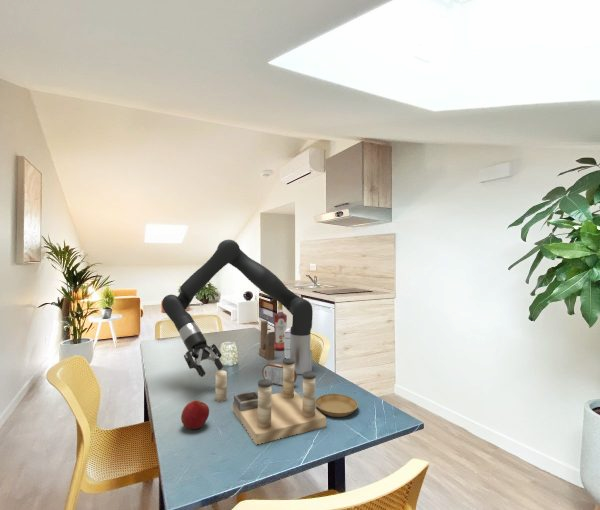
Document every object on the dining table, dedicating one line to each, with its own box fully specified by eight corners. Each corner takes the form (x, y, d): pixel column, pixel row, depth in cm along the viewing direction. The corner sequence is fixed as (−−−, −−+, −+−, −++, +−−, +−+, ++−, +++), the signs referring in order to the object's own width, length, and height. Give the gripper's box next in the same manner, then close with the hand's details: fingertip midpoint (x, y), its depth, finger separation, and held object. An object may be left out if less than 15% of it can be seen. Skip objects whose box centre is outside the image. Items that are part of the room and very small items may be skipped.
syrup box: (295, 359, 171) (295, 331, 171) (283, 358, 172) (284, 330, 172) (297, 356, 176) (297, 328, 176) (286, 355, 178) (286, 328, 178)
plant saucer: (362, 405, 120) (362, 398, 120) (351, 424, 107) (351, 416, 107) (323, 397, 127) (323, 390, 127) (308, 414, 113) (308, 407, 113)
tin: (297, 386, 137) (297, 365, 137) (293, 389, 134) (293, 368, 134) (265, 380, 143) (265, 360, 143) (261, 382, 140) (261, 362, 140)
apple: (201, 435, 99) (202, 408, 99) (176, 432, 101) (176, 405, 101) (212, 422, 107) (213, 397, 107) (189, 419, 108) (189, 395, 108)
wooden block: (268, 360, 169) (268, 324, 169) (258, 354, 178) (259, 320, 178) (274, 359, 171) (275, 324, 171) (265, 353, 180) (265, 320, 180)
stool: (293, 398, 125) (293, 355, 125) (325, 426, 105) (326, 376, 105) (232, 410, 115) (233, 364, 115) (256, 445, 94) (256, 389, 94)
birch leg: (224, 396, 126) (225, 369, 126) (227, 400, 122) (228, 373, 122) (214, 398, 124) (214, 371, 124) (216, 402, 121) (217, 374, 121)
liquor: (285, 347, 193) (286, 298, 193) (287, 350, 186) (287, 300, 186) (272, 347, 192) (273, 298, 192) (274, 351, 185) (274, 300, 185)
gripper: (181, 334, 125) (202, 372, 118) (211, 328, 136) (231, 361, 130) (172, 346, 127) (192, 383, 121) (202, 339, 139) (221, 372, 133)
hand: (212, 372), depth 126 cm, fingers open, 8 cm apart
